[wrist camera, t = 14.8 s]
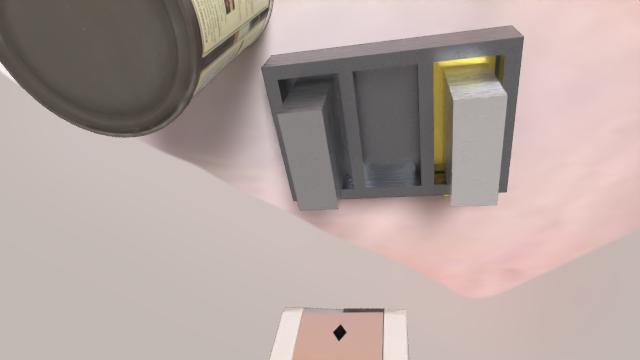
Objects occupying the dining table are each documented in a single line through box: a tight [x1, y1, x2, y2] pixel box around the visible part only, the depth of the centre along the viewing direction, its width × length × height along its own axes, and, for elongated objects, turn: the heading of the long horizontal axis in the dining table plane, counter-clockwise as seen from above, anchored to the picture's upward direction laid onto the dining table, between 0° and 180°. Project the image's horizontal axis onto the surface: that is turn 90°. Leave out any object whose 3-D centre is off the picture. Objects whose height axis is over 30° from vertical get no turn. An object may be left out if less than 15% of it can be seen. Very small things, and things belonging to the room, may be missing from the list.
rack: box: [261, 26, 524, 210], centre depth 30 cm, size 18×12×7 cm
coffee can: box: [0, 0, 273, 137], centre depth 23 cm, size 10×10×14 cm
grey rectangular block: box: [443, 63, 508, 207], centre depth 28 cm, size 3×8×6 cm, turn 9°
